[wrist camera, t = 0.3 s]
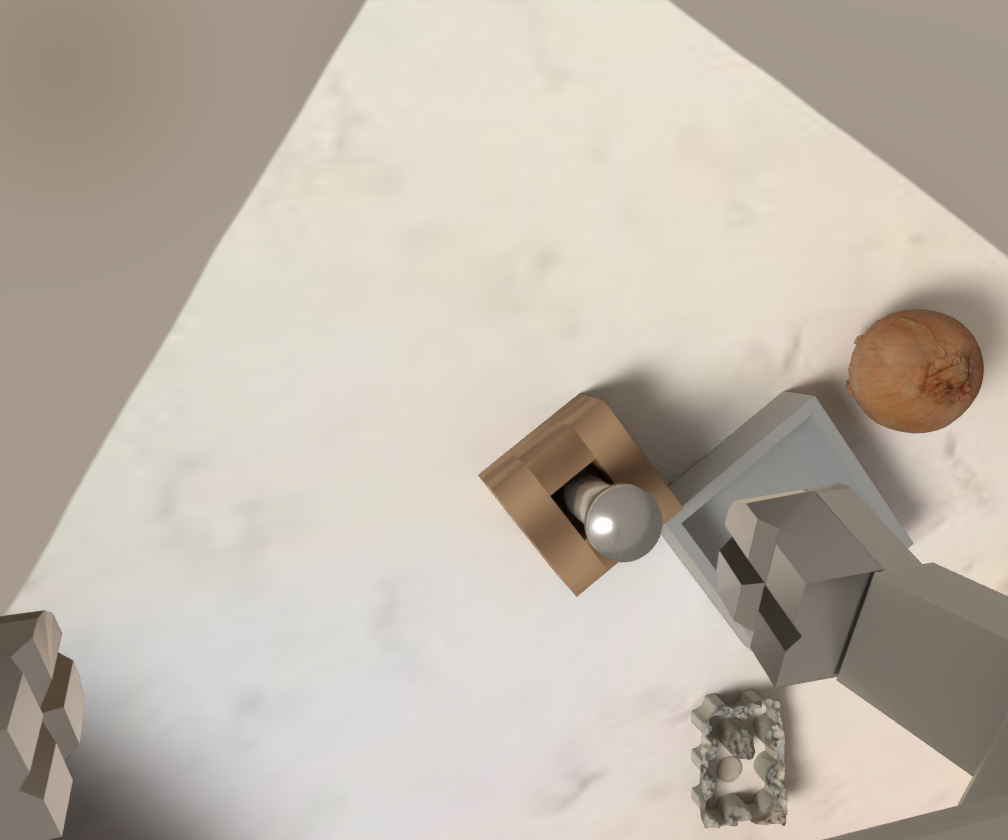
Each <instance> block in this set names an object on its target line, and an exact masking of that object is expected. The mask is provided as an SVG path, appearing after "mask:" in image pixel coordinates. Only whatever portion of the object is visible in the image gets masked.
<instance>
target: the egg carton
mask: <svg viewBox="0 0 1008 840" xmlns="http://www.w3.org/2000/svg"><path fill="white" fill-rule="evenodd" d="M761 702H762V703H763V704H764V705H765V706H766V713H765V714H762V715H760V716H759V717H758V718H757V719H756V721H755V724H754V732H755V734H756V736H757V737H758V738H759V739H760V740H761V741H762V742H763V743H764V744H765V751H763V752H761V753H760V754H759V755H758V756H757V757H756V759H755V761H754V769H755V772H756V773H757V774H758V775H759V776H760V777H761V779H762V780H763V781H764V782H765V786H764V788H763V789H761V790H760V791H759V792H757V794H756V795H755V797H754V800H753V802H752V803H748V804H744V802H743V801H742V800H741V799H740V798H739V796H737V795H736V794H727V795H725V796H723V797H722V798H721V799H720V800H719V801H718V804H717V807H716V808H715V809H706V801H707V800H708V799H709V798H711V797H712V796H714V792H715V783H717V781H716V780H715V779H713V777H712V776H711V775H710V774H709V773H708V772H707V771H706V768H708V767H709V761H710V760H713V759H715V758H716V755H715V752H716V751H718V744H717V741H716V739H714V738H713V737H711V736H710V732H711V731H712V727H711V725H710V718H711V717H713V716H714V715H728V714H729V713H730V715H731V716H735V717H736V718H738V719H740V721H741V720H746V719H747V718H748V715H749V714H753V712H754V709H755V708H762V703H761ZM779 708H780V701H779V700H778V701H773V700H771V699H762V698H761V697H760V696H759V695H758V694H757V693H755V691H754V690H745V691H742V695H741V697H740V699H739V701H738V702H737V703H735V704H734V705H731V706H726V704H725V703H724V702H723V701H722V700H721V699H720V698H719V697H718V696H717V695H715V694H713V695H706V696H705V698H704V701H703V703H702V705H701V706H700V707H699V708H697V709H695V710H693V711H691V722H692V723H693V724H694V725H695V726H696V727H697V728H698V729H699V731H701V733H702V736H701V744H700V745H699V746H698V747H696V748H694V749H692V750H691V760H692V762H693V763H694V764H695V765H696V766H697V767H698V768H699V770H700V784H699V785H697V786H696V787H693V788H692V791H691V796H692V800H693V801H694V802H695V803H696V804H697V806H698V807H699V808H700V811H701V819H702V821H703V824H704V826H705V828H720V826H724V825H731V826H737V825H738V823H737V822H740V821H747V820H750V821H751V822H753V823H755V824H760V825H767V824H780V823H782V825H784V826H785V823H786V815H787V801H788V800H787V788H786V786H785V784H784V776H785V770H786V766H785V762H784V746H785V737H784V730H783V725H782V722H781V715H780V712H779ZM717 737H718V739H719V740H720V742H721V743H722V744H723V745H724V746H725V747H726V748H727V749H728V751H729V752H730V753H731V754H732V755H733V756H729V757H726V758H724V759H723V760H721V762H720V763H719V765H718V768H717V774H718V776H719V778H720V779H721V780H722V781H724V782H731V781H734V780H735V779H736V778H738V777H739V775H740V773H741V770H742V764H741V762H740V760H739V759H748V760H750V759H752V758H753V757H754V754H755V749H754V742H753V735H752V734H751V733H750V731H749V730H748V729H747V728H746V727H745V726H743V725H742V724H741V723H740V722H739V721H738V720H737V719H735V718H727V719H725V720H723V721H722V722H721V723H720V724H719V726H718V728H717ZM734 756H735V757H734ZM703 765H704V766H705V768H704V767H703Z"/></svg>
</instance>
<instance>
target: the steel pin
mask: <svg viewBox="0 0 1008 840" xmlns="http://www.w3.org/2000/svg"><path fill="white" fill-rule="evenodd" d="M553 495H554V498H555V499H556V501H557V502H558V503H559V504H560V505H561V506H563V507H564V508H565V509H566V510H568V511H569V512H570V513H571V514H573V515H574V516H575V517H576V518H578V519H579V520H580V521H581V522H583V523H584V528H585V533H586V536H587V538H588V540H589V542H590V543H591V545H592V546H593V547H594V548H595V549H596V550H597V551H598V552H599V553H601V554H602V555H603V556H605V557H606V558H608V559H610V560H613V561H617V562H630V561H634V560H637V559H639V558H641V557H643V556H644V555H646V554H647V553H648V552H649V551H650V550H651V549H652V548H653V547H654V546H655V544H656V543H657V541H658V539H659V537H660V534H661V530H662V523H663V521H662V513H661V510H660V507H659V505H658V503H657V501H656V500H655V499H654V498H653V496H651V495H650V494H649V493H648V492H646V491H645V490H643V489H641V488H639V487H637V486H635V485H632V484H627V483H619V484H614V485H609V484H608V483H606V482H604V481H603V480H601V479H599V478H597V477H596V476H594V475H592V474H591V473H589V472H587V471H586V470H584V469H582V470H581V471H580V472H579V473H577V474H576V475H575V476H574V477H572V478H571V479H570V480H569V481H568V482H566V483H565V484H564V485H563V486H561V487H560V488H559V489H558V490H557V491H555V492H554V493H553Z"/></svg>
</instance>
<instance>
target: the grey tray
mask: <svg viewBox="0 0 1008 840" xmlns="http://www.w3.org/2000/svg"><path fill="white" fill-rule="evenodd" d="M836 483H842V484H845V485H847V486H849V487H850V488H852V489H853V490H854V491H855V492H856V494H857V495H858V496H859V497H860V498H861V499H862V500H863V501H864V502H865V503H866V504H867V505H868V506H869V508H870V509H871V510H872V511H873V512H874V513H875V514H876V515H877V516H878V517H879V518H880V519H881V520H882V522H883V523H884V524H885V525H886V526H887V527H888V528H889V529H890V530H891V531H892V532H893V533H894V534H895V536H896V537H897V538H898V539H899V540H900V541H901V542H902V543H903V544H904V545H905V546H906V547H907V548H909V547H910V546H911V545H913V542H912V541H911V539H910V538H909V536H908V535H907V533H906V532H905V530H904V529H903V527H902V526H901V524H900V523H899V521H898V520H897V518H896V517H895V515H894V514H893V512H892V511H891V509H890V508H889V506H888V505H887V503H886V502H885V500H884V499H883V497H882V496H881V494H880V493H879V491H878V490H877V488H876V487H875V485H874V484H873V482H872V481H871V479H870V478H869V476H868V475H867V473H866V472H865V470H864V469H863V467H862V466H861V464H860V463H859V461H858V460H857V458H856V457H855V455H854V454H853V452H852V451H851V449H850V448H849V446H848V445H847V443H846V442H845V440H844V439H843V437H842V436H841V434H840V433H839V431H838V430H837V428H836V427H835V425H834V424H833V422H832V421H831V419H830V418H829V416H828V415H827V413H826V412H825V410H824V409H823V407H822V406H821V404H820V403H819V401H818V400H817V398H816V397H815V396H813V395H806V394H800V393H794V392H787V391H784V392H782V393H781V394H780V395H779V396H778V397H776V398H775V399H774V400H773V401H772V402H770V403H769V404H768V405H767V406H765V407H764V408H763V409H762V410H761V411H759V412H758V413H757V414H756V415H755V416H753V417H752V418H751V419H750V420H749V421H747V422H746V423H745V424H744V425H743V426H741V427H740V428H739V429H738V430H736V431H735V432H734V433H733V434H732V435H730V436H729V437H728V438H727V439H726V440H724V441H723V442H722V443H721V444H720V445H718V446H717V447H716V448H715V449H713V450H712V451H711V452H710V453H709V454H707V455H706V456H705V457H704V458H703V459H701V460H700V461H699V462H698V463H697V464H695V465H694V466H693V467H692V468H691V469H689V470H688V471H687V472H686V473H684V474H683V475H682V476H681V477H680V478H678V479H677V480H676V481H675V482H674V483H672V484H671V485H670V486H669V487H668V488H669V489H670V491H671V492H672V493H673V495H674V496H675V498H676V499H677V500H678V502H679V503H680V504H681V506H682V507H683V509H682V510H681V511H679V512H678V513H677V514H676V515H675V516H673V517H672V518H671V519H670V520H668V521H667V522H666V523H665V524H664V525H662V530H661V535H662V536H663V537H664V539H665V540H666V541H667V543H668V544H669V545H670V547H671V548H672V549H673V551H674V552H675V553H676V555H677V556H678V557H679V559H680V560H681V561H682V563H683V564H684V565H685V567H686V568H687V569H688V571H689V572H690V573H691V575H692V576H693V577H694V579H695V580H696V581H697V583H698V584H699V585H700V587H701V588H702V589H703V591H704V592H705V593H706V595H707V596H708V597H709V599H710V600H711V601H712V603H713V604H714V605H715V607H716V608H717V609H718V611H719V612H720V613H721V615H722V616H723V617H724V619H725V620H726V621H727V623H728V624H729V625H730V627H731V628H732V629H733V631H734V632H735V633H736V635H737V636H738V638H739V639H740V640H741V642H742V643H743V644H744V645H745V646H746V647H747V648H749V649H750V650H751V648H750V644H751V638H752V633H753V632H752V631H751V630H749V629H747V628H746V627H744V626H742V625H740V624H739V623H737V622H735V621H734V620H733V619H732V617H731V615H730V614H729V612H728V610H727V609H726V607H725V605H724V602H723V600H722V597H721V594H720V592H719V587H718V579H717V572H716V569H717V562H718V556H719V551H720V549H721V548H722V547H723V546H724V545H725V544H726V543H727V542H728V541H729V540H730V539H731V537H732V535H731V533H730V532H729V530H728V529H727V528H726V526H725V521H726V517H727V513H728V509H729V508H730V506H731V505H732V504H733V502H734V501H737V500H743V499H749V498H755V497H761V496H767V495H773V494H779V493H785V492H791V491H797V490H805V489H807V488H813V487H818V486H824V485H830V484H836ZM751 651H752V650H751ZM752 652H753V651H752Z"/></svg>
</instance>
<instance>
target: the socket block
mask: <svg viewBox="0 0 1008 840" xmlns="http://www.w3.org/2000/svg"><path fill="white" fill-rule="evenodd" d="M582 469H584V470H586V471H587V472H589V473H591V474H592V475H594V476H596V477H597V478H599V479H601V480H603V481H604V482H606V483H608V484H609V485H614V484H619V483H627V484H632V485H635V486H637V487H639V488H641V489H643V490H645V491H646V492H648V493H649V494H650V495H651V496H653V498H654V499H655V500H656V501H657V503H658V505H659V507H660V510H661V513H662V521H663V523H662V525H664V524H665V523H666V522H667V521H668V520H670V519H671V518H672V517H673V516H675V515H676V514H677V513H678V512H679V511H681V510H682V509H683V507H682V506H681V504H680V503H679V502H678V500H677V499H676V498H675V496H674V495H673V493H672V492H671V491H670V489H669V488H668V487H667V485H666V484H665V483H664V481H663V480H662V478H661V477H660V476H659V474H658V473H657V472H656V470H655V469H654V468H653V466H652V465H651V464H650V462H649V461H648V459H647V458H646V457H645V455H644V454H643V453H642V451H641V450H640V449H639V447H638V446H637V444H636V443H635V442H634V440H633V439H632V438H631V436H630V435H629V434H628V432H627V431H626V430H625V428H624V427H623V425H622V424H621V423H620V421H619V420H618V419H617V417H616V416H615V415H614V413H613V412H612V410H611V409H610V408H609V406H608V405H607V404H606V402H605V401H604V400H601V399H597V398H594V397H591V396H587V395H584V394H581V393H580V394H578V395H577V396H576V397H575V398H573V399H572V400H571V401H570V402H568V403H567V404H566V405H565V406H563V407H562V408H561V409H560V410H558V411H557V412H556V413H555V414H553V415H552V416H551V417H550V418H549V419H547V420H546V421H545V422H544V423H542V424H541V425H540V426H539V427H537V428H536V429H535V430H534V431H532V432H531V433H530V434H529V435H527V436H526V437H525V438H524V439H522V440H521V441H520V442H519V443H517V444H516V445H515V446H514V447H513V448H511V449H510V450H509V451H508V452H506V453H505V454H504V455H503V456H501V457H500V458H499V459H498V460H496V461H495V462H494V463H493V464H491V465H490V466H489V467H488V468H486V469H485V470H484V471H483V472H481V473H480V474H479V475H478V476H479V477H480V478H481V480H482V481H483V482H484V483H485V485H486V486H487V487H488V488H489V490H490V491H491V492H492V493H493V495H494V496H495V497H496V498H497V500H498V501H499V502H500V504H501V505H502V506H503V507H504V509H505V510H506V511H507V512H508V514H509V515H510V516H511V517H512V519H513V520H514V521H515V522H516V524H517V525H518V526H519V527H520V529H521V530H522V531H523V532H524V534H525V535H526V536H527V538H528V539H529V540H530V541H531V543H532V544H533V545H534V546H535V548H536V549H537V550H538V551H539V553H540V554H541V555H542V556H543V558H544V559H545V560H546V561H547V563H548V564H549V565H550V566H551V568H552V569H553V570H554V572H555V573H556V574H557V575H558V576H559V577H560V578H561V580H562V581H563V582H564V583H565V584H566V585H567V586H568V587H569V589H570V590H571V591H572V592H573V593H574V594H575V595H576V596H578V595H579V594H581V593H582V592H583V591H584V590H585V589H587V588H588V587H589V586H590V585H591V584H593V583H594V582H595V581H596V580H598V579H599V578H600V577H601V576H602V575H604V574H605V573H606V572H607V571H608V570H610V569H611V568H612V567H613V566H614V565H616V564H617V563H618V562H617V561H613V560H610V559H608V558H606V557H605V556H603V555H602V554H601V553H599V552H598V551H597V550H596V549H595V548H594V547H593V546H592V545H591V543H590V542H589V540H588V538H587V536H586V533H585V528H584V523H583V522H581V521H580V520H579V519H578V518H576V517H575V516H574V515H573V514H571V513H570V512H569V511H568V510H566V509H565V508H564V507H563V506H561V505H560V504H559V503H558V502H557V501H556V499H555V498H554V495H553V493H554V492H555V491H557V490H558V489H559V488H560V487H561V486H563V485H564V484H565V483H566V482H568V481H569V480H570V479H571V478H572V477H574V476H575V475H576V474H577V473H579V472H580V471H581V470H582Z"/></svg>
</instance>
